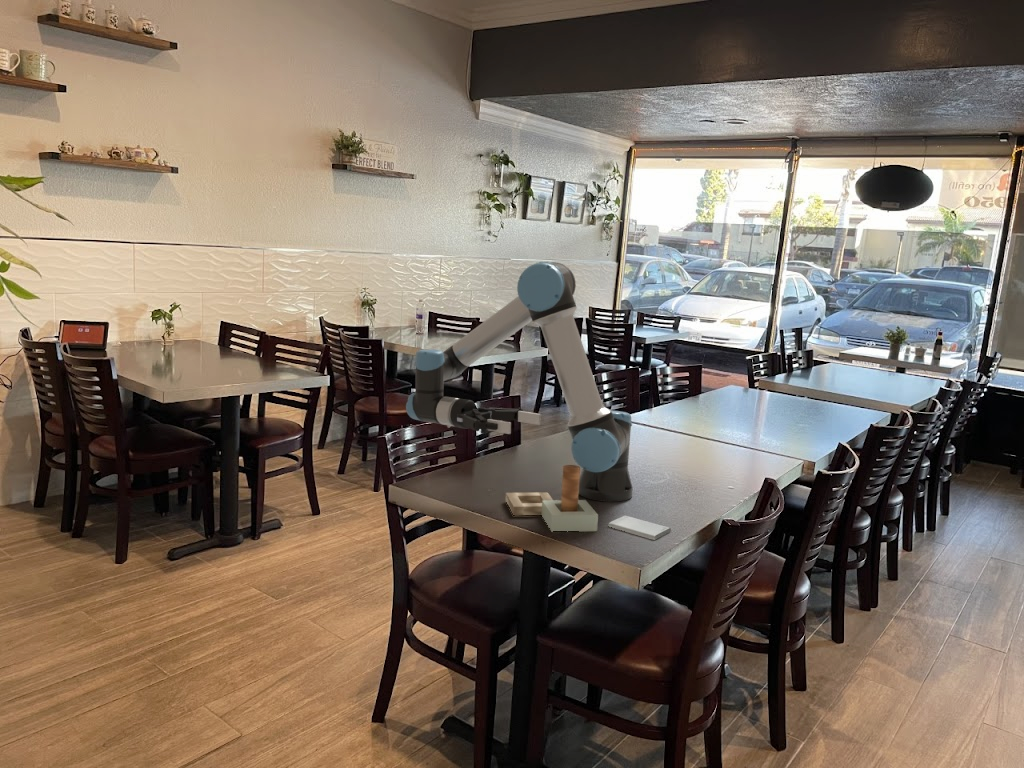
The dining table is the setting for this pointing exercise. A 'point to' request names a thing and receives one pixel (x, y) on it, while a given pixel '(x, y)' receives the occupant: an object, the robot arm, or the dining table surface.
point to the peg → (570, 488)
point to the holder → (526, 502)
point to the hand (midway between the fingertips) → (525, 423)
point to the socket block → (569, 517)
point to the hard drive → (639, 527)
